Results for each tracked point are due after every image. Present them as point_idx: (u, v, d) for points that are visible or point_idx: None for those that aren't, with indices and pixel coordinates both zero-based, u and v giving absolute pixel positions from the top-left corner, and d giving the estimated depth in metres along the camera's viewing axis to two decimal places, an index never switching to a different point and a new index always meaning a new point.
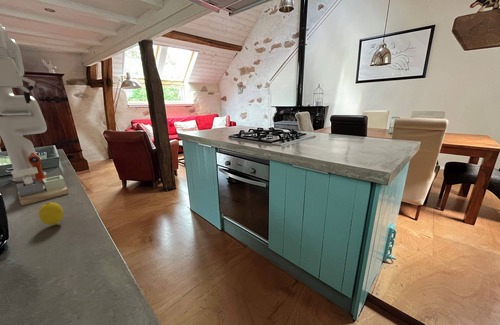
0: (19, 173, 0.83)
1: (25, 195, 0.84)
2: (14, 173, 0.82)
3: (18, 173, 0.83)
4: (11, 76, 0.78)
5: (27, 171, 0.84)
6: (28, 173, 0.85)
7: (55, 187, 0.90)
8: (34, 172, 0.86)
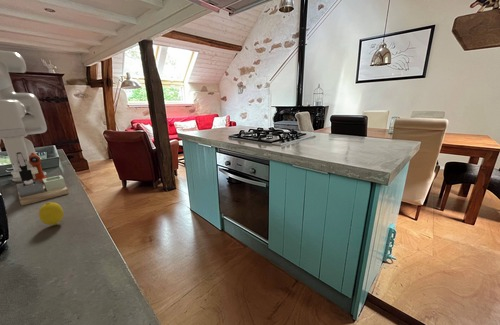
0: (19, 173, 0.83)
1: (25, 195, 0.84)
2: (14, 173, 0.82)
3: (18, 173, 0.83)
4: None
5: None
6: None
7: (55, 187, 0.90)
8: (34, 172, 0.86)
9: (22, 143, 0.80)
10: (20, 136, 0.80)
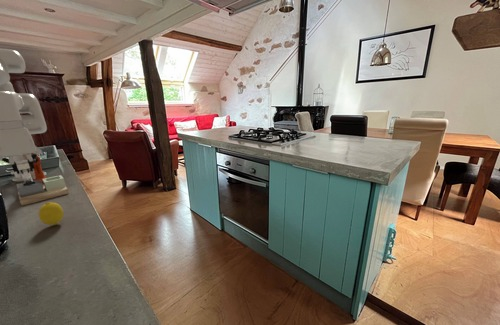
0: (16, 164, 0.84)
1: (25, 195, 0.84)
2: (16, 163, 0.85)
3: (16, 164, 0.84)
4: (25, 145, 0.82)
5: None
6: None
7: (55, 187, 0.90)
8: None
9: None
10: None
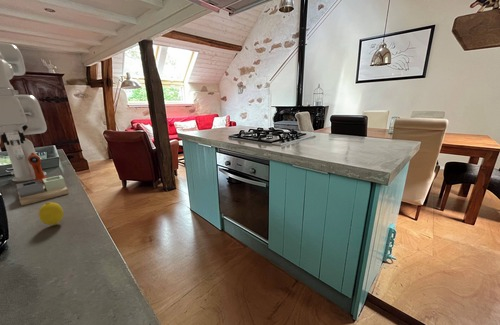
0: None
1: (25, 195, 0.84)
2: (6, 134, 0.81)
3: None
4: (15, 114, 0.79)
5: (6, 135, 0.79)
6: None
7: (55, 187, 0.90)
8: (7, 138, 0.78)
9: None
10: None
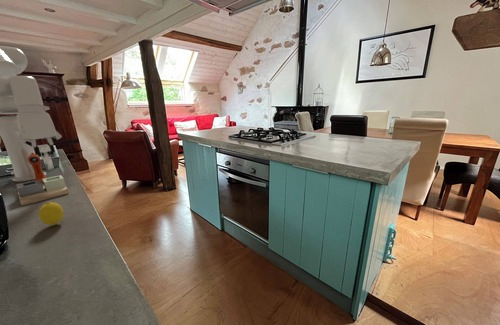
0: None
1: (25, 195, 0.84)
2: (37, 146, 0.88)
3: None
4: (46, 128, 0.86)
5: None
6: (39, 150, 0.86)
7: (55, 187, 0.90)
8: None
9: (19, 120, 0.80)
10: (21, 113, 0.80)
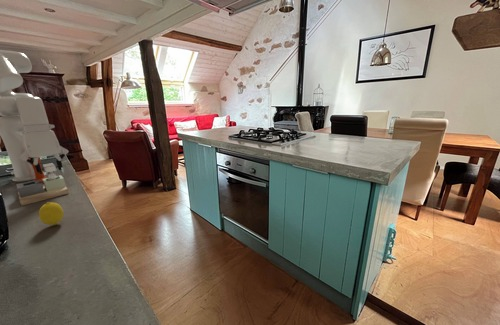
0: None
1: (25, 195, 0.84)
2: (43, 165, 0.91)
3: None
4: (52, 146, 0.88)
5: (44, 167, 0.88)
6: (45, 169, 0.89)
7: (55, 187, 0.90)
8: (45, 170, 0.88)
9: (25, 139, 0.82)
10: (27, 132, 0.82)
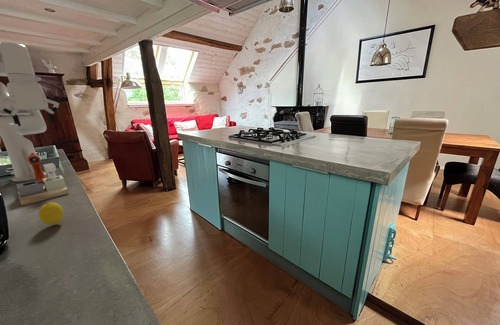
0: None
1: (25, 195, 0.84)
2: (43, 165, 0.91)
3: None
4: (38, 100, 0.84)
5: (44, 167, 0.89)
6: (45, 169, 0.89)
7: (55, 187, 0.90)
8: (45, 170, 0.88)
9: (9, 89, 0.78)
10: (11, 81, 0.78)
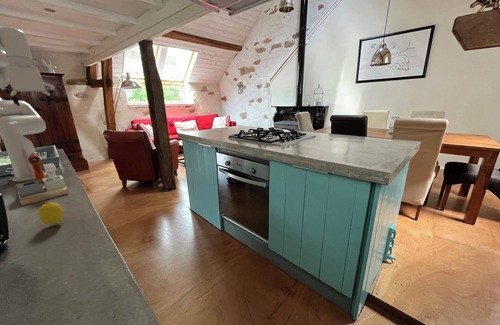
0: None
1: (25, 195, 0.84)
2: (43, 165, 0.91)
3: None
4: (35, 82, 0.91)
5: (44, 167, 0.89)
6: (45, 169, 0.89)
7: (55, 187, 0.90)
8: (45, 170, 0.88)
9: (9, 70, 0.85)
10: (10, 64, 0.85)
